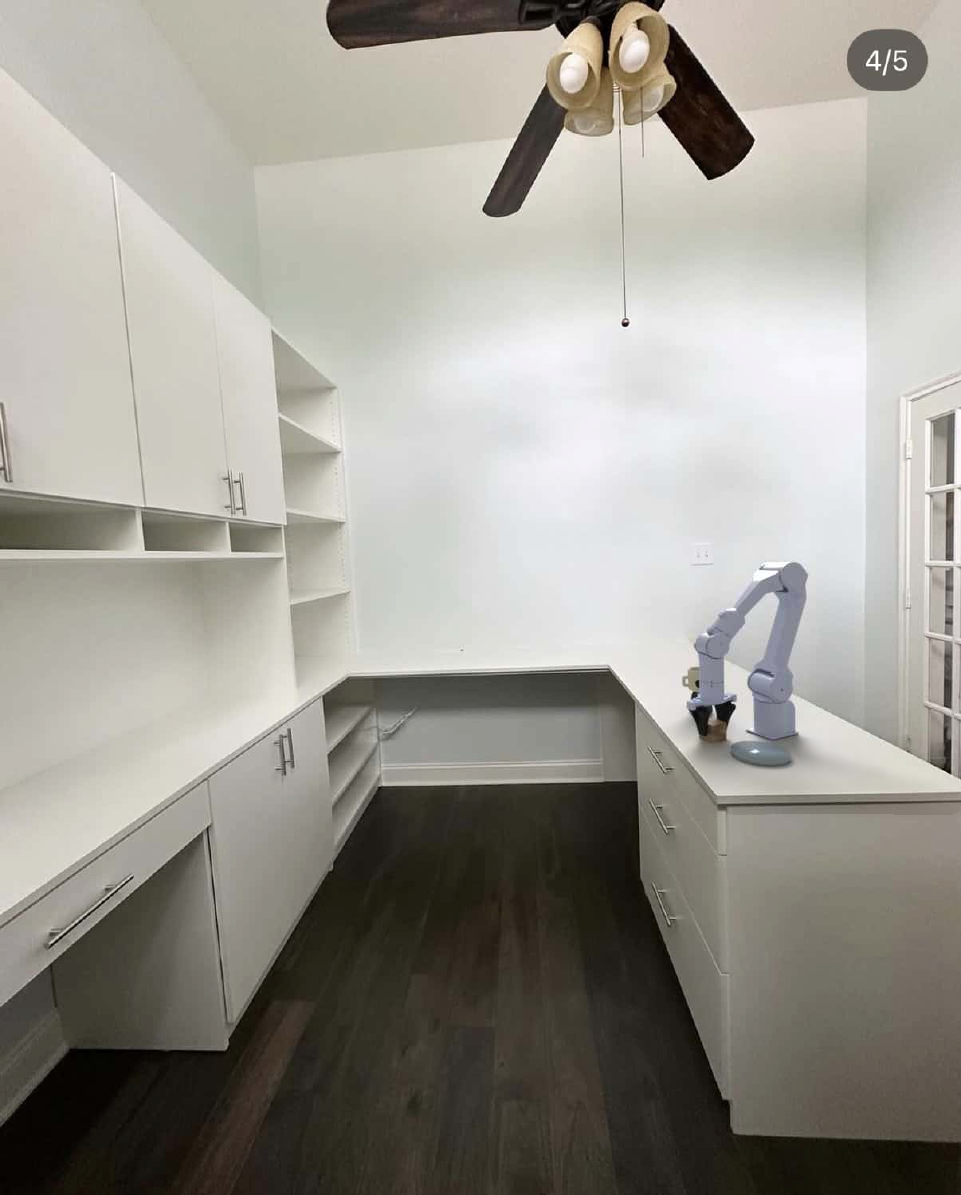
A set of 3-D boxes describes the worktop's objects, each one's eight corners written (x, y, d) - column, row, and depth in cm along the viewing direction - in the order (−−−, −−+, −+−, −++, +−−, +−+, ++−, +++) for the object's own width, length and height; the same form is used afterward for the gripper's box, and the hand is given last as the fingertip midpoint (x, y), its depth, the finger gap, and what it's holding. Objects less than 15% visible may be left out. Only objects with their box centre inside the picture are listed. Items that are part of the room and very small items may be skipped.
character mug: (687, 717, 144) (687, 672, 143) (678, 709, 151) (677, 667, 150) (725, 715, 144) (725, 670, 143) (714, 707, 151) (713, 665, 150)
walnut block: (712, 734, 130) (712, 717, 130) (726, 740, 126) (726, 722, 126) (699, 737, 129) (698, 720, 128) (712, 743, 125) (712, 725, 124)
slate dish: (756, 742, 123) (756, 737, 123) (803, 759, 112) (803, 754, 112) (719, 751, 119) (719, 746, 119) (763, 770, 108) (763, 765, 108)
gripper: (720, 673, 133) (721, 723, 134) (677, 681, 127) (678, 733, 129) (743, 679, 126) (743, 731, 127) (698, 687, 121) (699, 741, 122)
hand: (712, 733), depth 127 cm, fingers open, 6 cm apart
